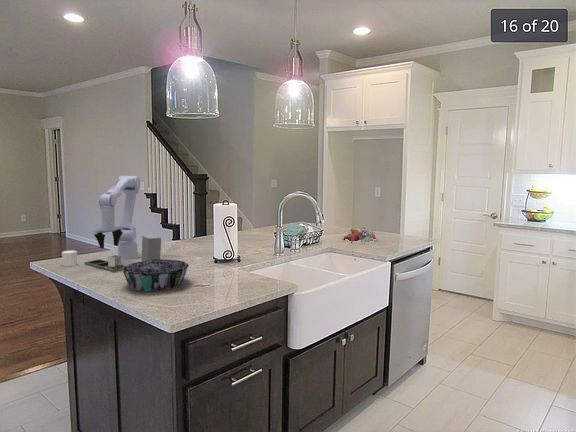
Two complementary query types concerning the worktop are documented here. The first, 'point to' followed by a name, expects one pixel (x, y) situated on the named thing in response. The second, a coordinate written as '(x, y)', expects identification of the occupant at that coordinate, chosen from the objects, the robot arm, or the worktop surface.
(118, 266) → the brushed steel square tube
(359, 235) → the multicoloured flower wreath
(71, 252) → the white cup
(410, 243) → the worktop surface
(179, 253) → the worktop surface
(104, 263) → the silver divided tray
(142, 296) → the worktop surface
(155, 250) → the skincare box
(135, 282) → the decorative bowl
